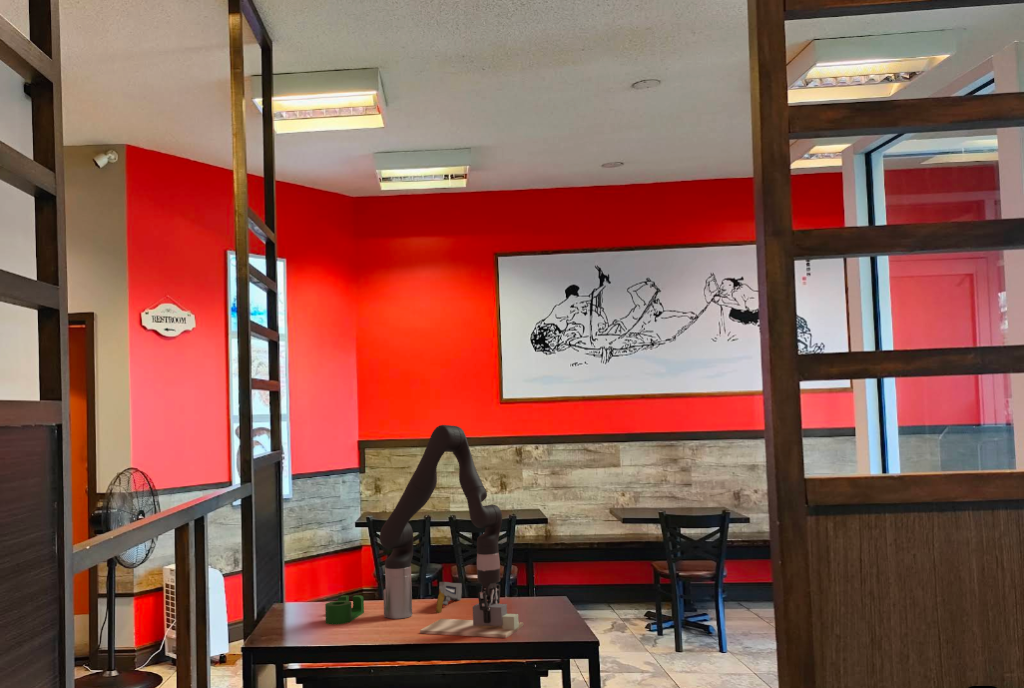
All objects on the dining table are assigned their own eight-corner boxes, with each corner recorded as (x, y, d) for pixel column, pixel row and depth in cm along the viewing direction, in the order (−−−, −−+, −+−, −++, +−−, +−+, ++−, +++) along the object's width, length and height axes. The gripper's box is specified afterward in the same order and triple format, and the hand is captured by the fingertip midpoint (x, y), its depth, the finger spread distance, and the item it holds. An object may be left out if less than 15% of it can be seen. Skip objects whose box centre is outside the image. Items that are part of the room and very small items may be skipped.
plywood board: (420, 633, 257) (419, 630, 257) (441, 621, 272) (441, 618, 272) (506, 637, 246) (506, 634, 246) (523, 625, 261) (523, 622, 261)
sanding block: (473, 625, 256) (472, 606, 257) (479, 621, 261) (478, 603, 262) (501, 626, 253) (501, 607, 254) (507, 623, 257) (506, 604, 258)
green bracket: (346, 625, 273) (345, 605, 274) (321, 625, 275) (321, 606, 276) (363, 613, 291) (363, 595, 292) (340, 613, 292) (340, 595, 293)
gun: (460, 623, 305) (463, 583, 312) (440, 612, 284) (444, 569, 291) (452, 623, 306) (456, 583, 313) (432, 612, 285) (436, 569, 292)
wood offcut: (502, 629, 253) (502, 616, 254) (507, 626, 257) (506, 613, 257) (514, 629, 252) (513, 616, 252) (518, 626, 256) (518, 614, 256)
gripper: (486, 563, 267) (488, 615, 265) (469, 570, 254) (471, 625, 252) (506, 563, 264) (509, 616, 262) (490, 571, 251) (492, 626, 249)
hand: (490, 620), depth 257 cm, fingers closed on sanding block, 5 cm apart
